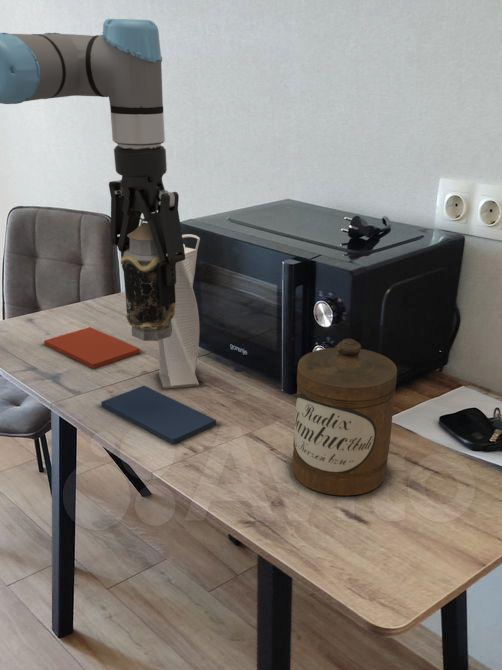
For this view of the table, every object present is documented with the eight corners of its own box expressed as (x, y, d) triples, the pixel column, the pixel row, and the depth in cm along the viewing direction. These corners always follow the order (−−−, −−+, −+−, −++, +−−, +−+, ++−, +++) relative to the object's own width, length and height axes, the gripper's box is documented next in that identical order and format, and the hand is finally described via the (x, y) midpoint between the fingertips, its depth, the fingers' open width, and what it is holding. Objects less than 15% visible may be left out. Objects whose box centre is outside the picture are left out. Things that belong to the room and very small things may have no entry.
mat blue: (101, 406, 129) (101, 401, 129) (144, 390, 135) (144, 385, 135) (173, 444, 118) (173, 439, 117) (216, 424, 124) (216, 419, 124)
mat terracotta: (44, 344, 153) (43, 340, 153) (90, 331, 161) (90, 326, 160) (93, 368, 143) (93, 364, 143) (140, 352, 151) (139, 348, 150)
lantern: (117, 332, 118) (102, 172, 105) (155, 321, 123) (145, 167, 110) (150, 347, 113) (138, 181, 100) (188, 334, 118) (181, 175, 105)
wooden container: (275, 478, 110) (280, 345, 98) (318, 439, 121) (327, 315, 109) (362, 507, 104) (378, 369, 92) (399, 463, 114) (418, 335, 103)
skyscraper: (199, 370, 144) (195, 229, 128) (207, 387, 137) (203, 240, 122) (158, 374, 142) (148, 231, 126) (164, 391, 135) (154, 242, 120)
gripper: (207, 151, 99) (210, 307, 111) (116, 135, 111) (128, 278, 123) (166, 156, 94) (174, 319, 107) (76, 139, 106) (92, 287, 118)
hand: (150, 297), depth 115 cm, fingers closed on lantern, 8 cm apart
